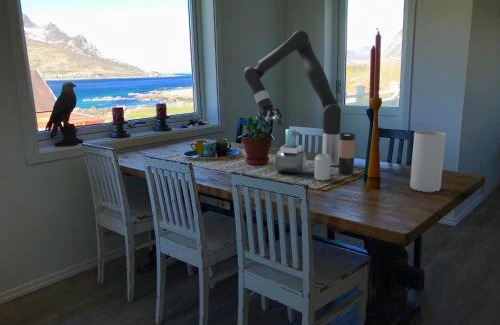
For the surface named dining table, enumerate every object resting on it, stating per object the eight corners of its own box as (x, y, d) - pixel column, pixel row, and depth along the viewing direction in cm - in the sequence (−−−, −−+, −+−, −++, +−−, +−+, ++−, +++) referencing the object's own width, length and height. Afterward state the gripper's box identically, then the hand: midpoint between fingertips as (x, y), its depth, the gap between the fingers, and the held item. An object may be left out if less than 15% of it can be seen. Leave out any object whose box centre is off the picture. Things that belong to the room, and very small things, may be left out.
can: (331, 177, 204) (331, 153, 201) (328, 181, 197) (329, 157, 194) (315, 176, 207) (316, 152, 204) (312, 180, 200) (313, 156, 197)
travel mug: (354, 172, 214) (356, 133, 209) (351, 175, 207) (353, 136, 203) (340, 170, 217) (341, 132, 213) (336, 174, 210) (338, 135, 206)
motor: (305, 170, 218) (306, 145, 215) (300, 175, 208) (300, 149, 205) (281, 168, 223) (281, 143, 220) (275, 173, 213) (275, 147, 210)
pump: (283, 149, 213) (283, 129, 211) (290, 147, 216) (290, 128, 214) (294, 151, 207) (294, 131, 205) (301, 149, 210) (301, 130, 208)
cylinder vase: (437, 194, 177) (443, 136, 171) (407, 190, 184) (411, 133, 178) (442, 187, 187) (447, 132, 182) (413, 183, 194) (417, 129, 188)
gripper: (257, 98, 218) (269, 126, 215) (276, 96, 227) (288, 122, 224) (249, 105, 224) (261, 132, 221) (269, 102, 233) (280, 128, 230)
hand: (275, 127), depth 222 cm, fingers open, 8 cm apart
